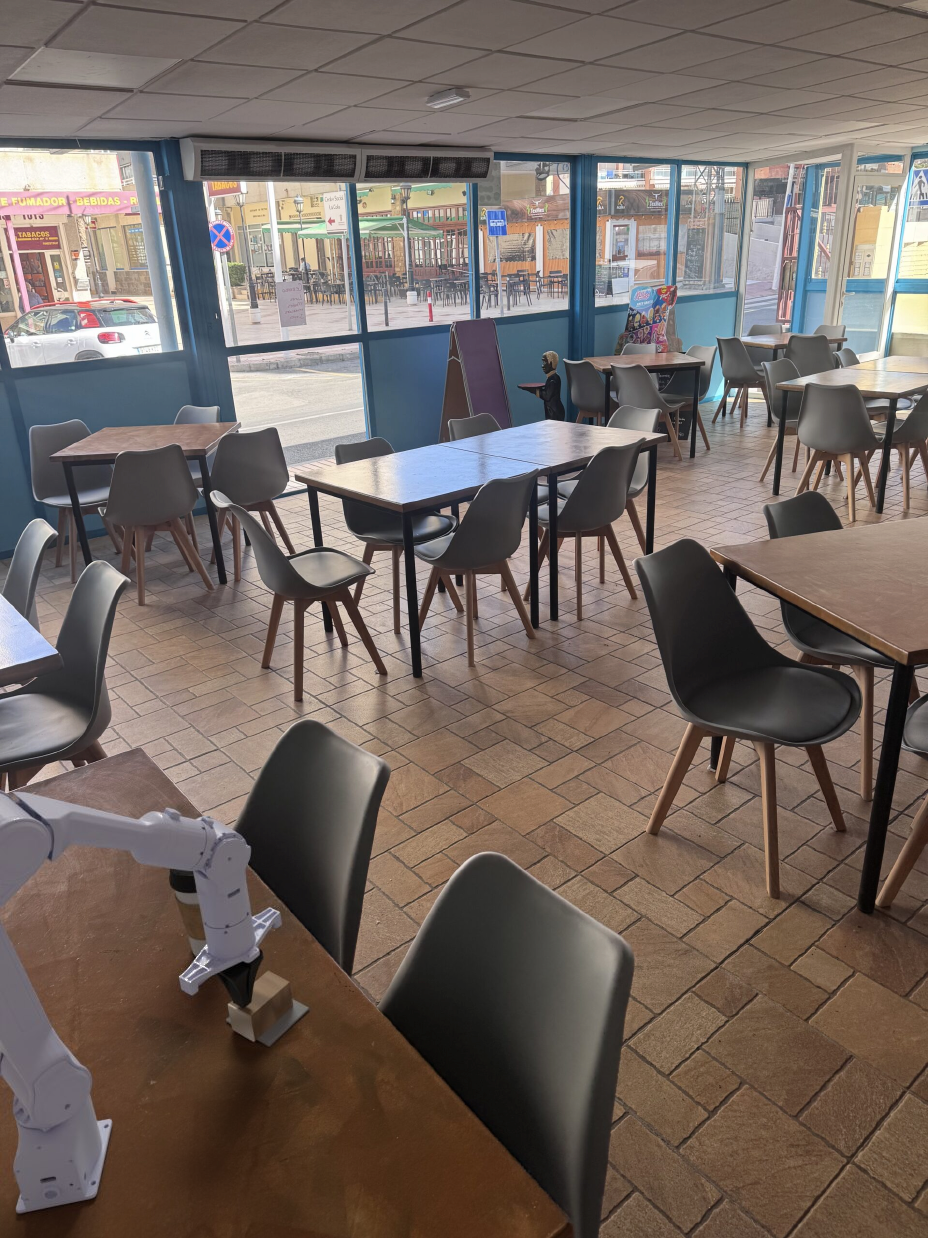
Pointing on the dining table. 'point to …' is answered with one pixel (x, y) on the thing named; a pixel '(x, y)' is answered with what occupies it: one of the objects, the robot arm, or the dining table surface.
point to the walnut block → (262, 1006)
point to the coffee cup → (189, 907)
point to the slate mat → (281, 1023)
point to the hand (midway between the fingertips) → (242, 1002)
